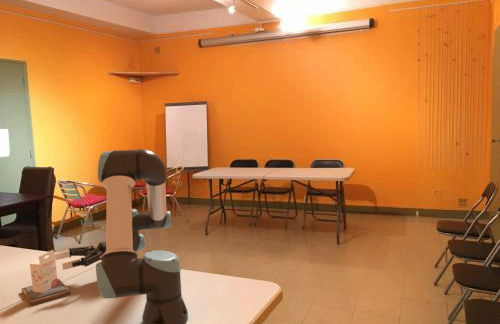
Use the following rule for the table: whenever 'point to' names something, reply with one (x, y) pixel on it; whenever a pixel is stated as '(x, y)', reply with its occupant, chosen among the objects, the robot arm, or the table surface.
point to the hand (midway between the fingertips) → (57, 261)
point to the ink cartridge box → (44, 273)
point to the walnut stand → (45, 293)
